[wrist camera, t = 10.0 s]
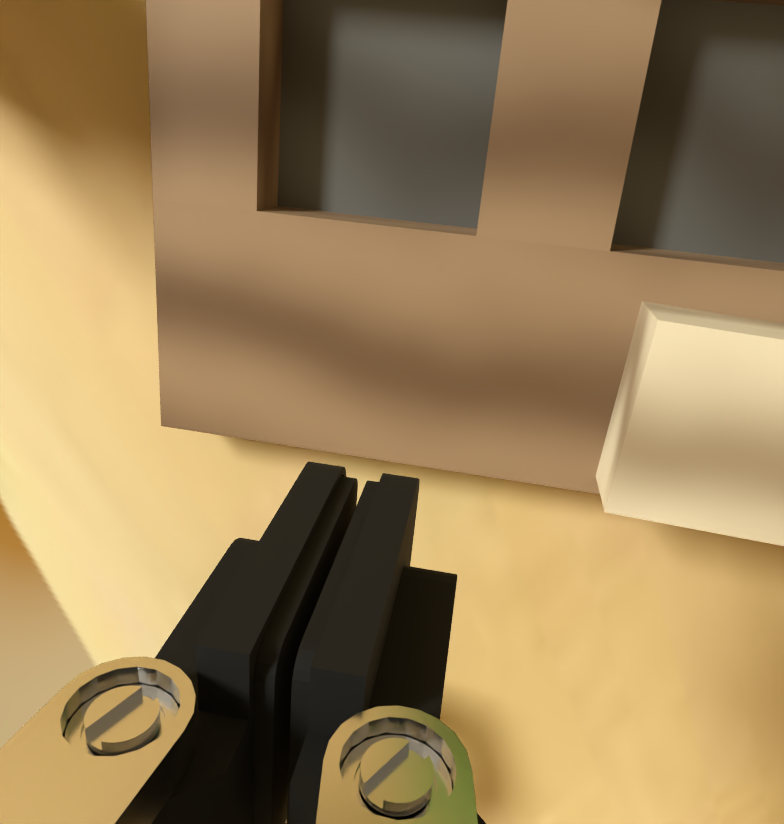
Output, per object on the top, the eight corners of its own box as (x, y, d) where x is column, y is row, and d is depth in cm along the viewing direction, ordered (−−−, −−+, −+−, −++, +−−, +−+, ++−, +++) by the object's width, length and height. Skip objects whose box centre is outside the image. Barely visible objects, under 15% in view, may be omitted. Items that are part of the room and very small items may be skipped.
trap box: (182, -71, 22) (91, -131, 17) (1055, -16, 19) (1234, -70, 14) (191, 402, 27) (125, 453, 23) (854, 502, 24) (933, 584, 20)
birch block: (642, 301, 21) (657, 320, 19) (849, 333, 20) (892, 357, 18) (595, 475, 23) (604, 512, 21) (781, 510, 22) (811, 551, 20)
